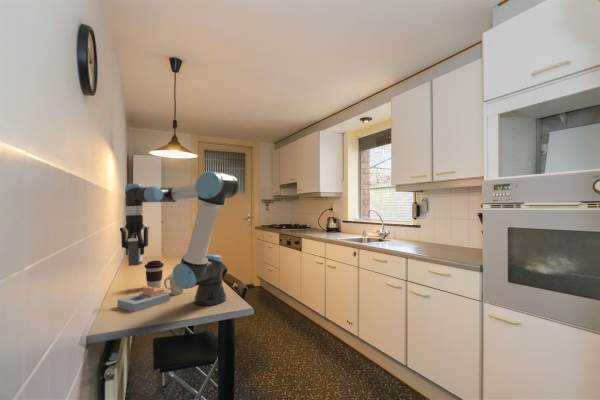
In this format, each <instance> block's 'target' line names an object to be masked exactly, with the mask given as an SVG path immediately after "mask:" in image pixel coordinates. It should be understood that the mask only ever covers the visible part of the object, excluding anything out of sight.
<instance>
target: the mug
mask: <svg viewBox="0 0 600 400" xmlns="http://www.w3.org/2000/svg"><path fill="white" fill-rule="evenodd" d="M168 281H169V286H168V285H167V282H168ZM163 286H164V287H165V288H166V289H167V290H170V295H174V296H175V295H177V296H178V295H181V294H184V291H185V289H182V288H180V287H179V286H177V284H176V283H175V281H174V279H173V273H171V274H169V275H168V277H166V278H165V279H164V281H163Z"/></svg>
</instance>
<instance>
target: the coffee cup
mask: <svg viewBox="0 0 600 400" xmlns="http://www.w3.org/2000/svg"><path fill="white" fill-rule="evenodd" d="M163 267H164V262H162V261H161V260H149V261H147V263H146V264H144V269H145V277H146V278H145V279H146V286H148V287H153V288H155V287H156V288H161V287H162V279H163Z"/></svg>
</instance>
